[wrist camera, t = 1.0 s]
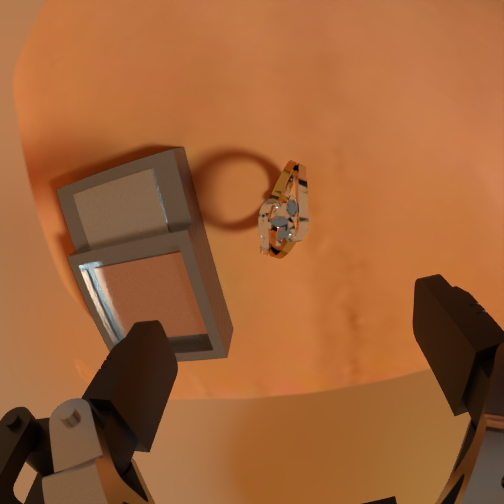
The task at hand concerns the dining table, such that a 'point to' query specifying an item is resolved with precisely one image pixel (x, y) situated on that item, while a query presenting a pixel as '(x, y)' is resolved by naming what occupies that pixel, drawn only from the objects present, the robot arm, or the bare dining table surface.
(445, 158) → the dining table surface
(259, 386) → the dining table surface
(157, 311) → the grey tray
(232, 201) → the dining table surface
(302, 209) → the ring
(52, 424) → the robot arm
